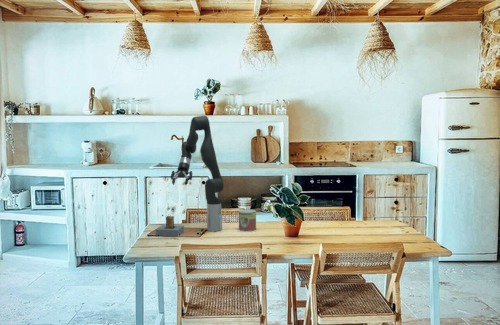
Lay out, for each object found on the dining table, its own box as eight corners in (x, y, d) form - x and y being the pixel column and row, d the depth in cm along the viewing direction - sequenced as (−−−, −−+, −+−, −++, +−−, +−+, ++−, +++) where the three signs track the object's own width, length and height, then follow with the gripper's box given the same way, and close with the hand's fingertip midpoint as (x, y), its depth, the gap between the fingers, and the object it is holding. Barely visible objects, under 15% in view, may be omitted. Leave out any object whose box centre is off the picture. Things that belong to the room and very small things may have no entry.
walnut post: (174, 233, 278) (173, 215, 277) (172, 234, 274) (172, 217, 273) (168, 233, 279) (167, 215, 278) (166, 234, 275) (165, 217, 274)
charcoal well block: (183, 231, 281) (183, 225, 281) (177, 236, 269) (177, 230, 269) (162, 231, 284) (162, 225, 283) (155, 235, 272) (155, 229, 271)
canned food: (236, 230, 284) (235, 212, 283) (242, 226, 294) (242, 208, 293) (252, 231, 280) (252, 213, 279) (258, 228, 290) (258, 209, 289)
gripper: (173, 161, 303) (167, 180, 293) (193, 161, 301) (188, 180, 290) (175, 168, 309) (170, 187, 298) (195, 168, 306) (191, 187, 296)
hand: (179, 184), depth 294 cm, fingers open, 8 cm apart
